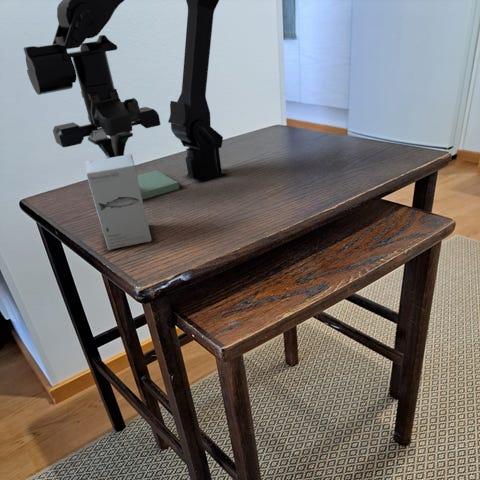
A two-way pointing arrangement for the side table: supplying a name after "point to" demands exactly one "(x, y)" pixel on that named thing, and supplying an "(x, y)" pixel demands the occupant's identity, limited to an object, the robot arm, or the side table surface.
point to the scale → (155, 184)
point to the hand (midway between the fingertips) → (119, 172)
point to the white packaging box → (118, 201)
